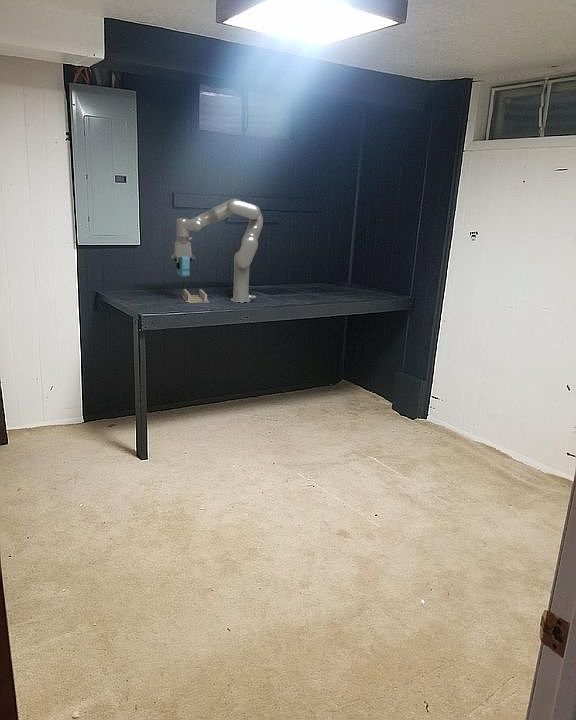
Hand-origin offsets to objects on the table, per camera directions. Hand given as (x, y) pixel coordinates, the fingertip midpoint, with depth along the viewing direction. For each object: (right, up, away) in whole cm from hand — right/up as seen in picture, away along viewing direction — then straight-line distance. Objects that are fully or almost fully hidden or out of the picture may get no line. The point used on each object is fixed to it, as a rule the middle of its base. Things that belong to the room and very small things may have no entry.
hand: (183, 269), depth 358 cm
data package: (0, -4, +1) cm, 4 cm away
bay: (+6, -18, +8) cm, 21 cm away
